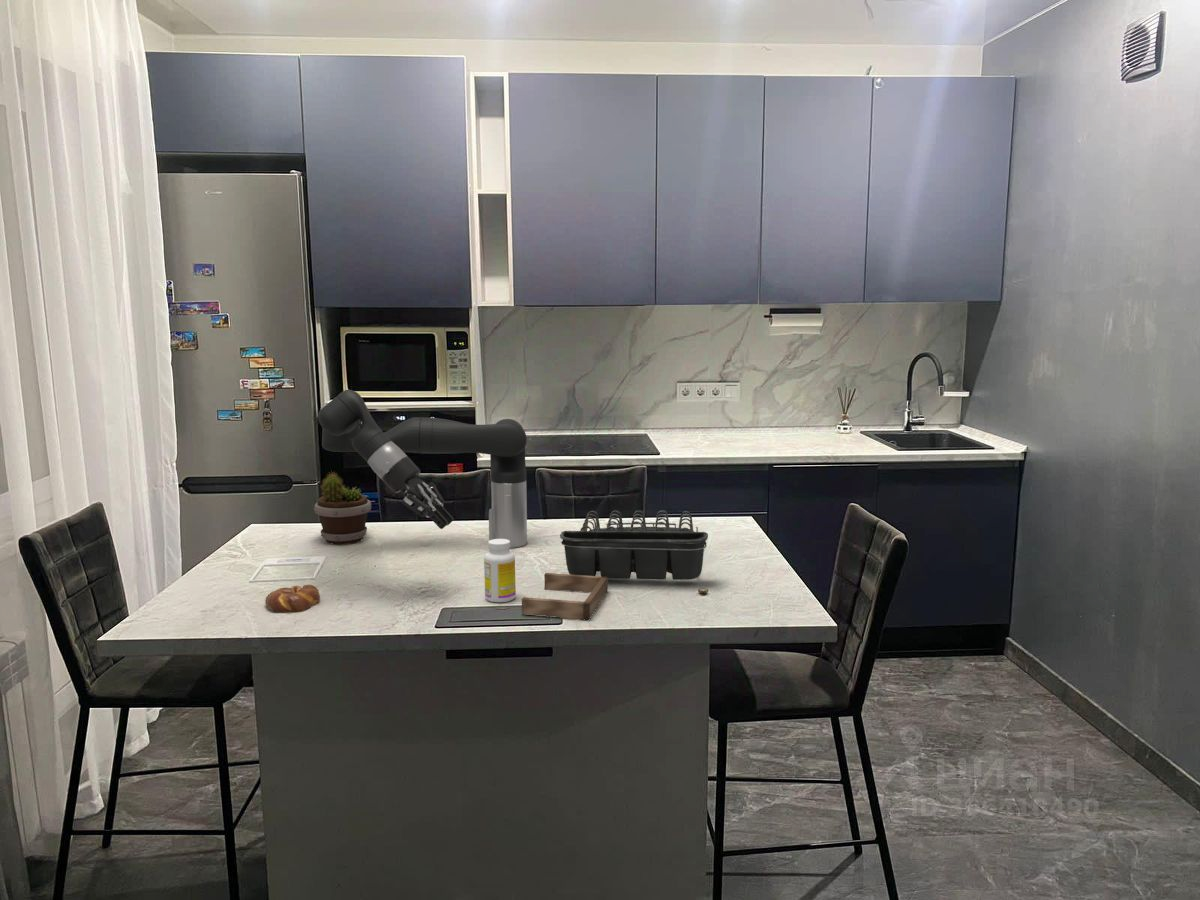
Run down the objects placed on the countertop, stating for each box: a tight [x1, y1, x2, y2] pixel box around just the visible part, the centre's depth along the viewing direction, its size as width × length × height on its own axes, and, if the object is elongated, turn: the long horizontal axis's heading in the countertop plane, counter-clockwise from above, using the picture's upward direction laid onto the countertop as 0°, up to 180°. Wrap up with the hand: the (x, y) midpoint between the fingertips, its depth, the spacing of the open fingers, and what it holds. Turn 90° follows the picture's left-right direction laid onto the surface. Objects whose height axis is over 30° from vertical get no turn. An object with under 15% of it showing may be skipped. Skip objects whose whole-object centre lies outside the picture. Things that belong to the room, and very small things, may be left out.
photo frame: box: [248, 555, 327, 584], centre depth 214 cm, size 15×1×18 cm
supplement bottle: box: [483, 539, 517, 603], centre depth 193 cm, size 7×7×13 cm
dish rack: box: [559, 510, 709, 581], centre depth 222 cm, size 34×44×12 cm
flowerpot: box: [313, 470, 372, 546], centre depth 239 cm, size 14×15×20 cm
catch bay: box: [521, 572, 609, 621], centre depth 191 cm, size 14×18×4 cm
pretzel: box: [264, 584, 321, 613], centre depth 190 cm, size 12×11×4 cm
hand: (447, 524), depth 194 cm, fingers open, 2 cm apart
